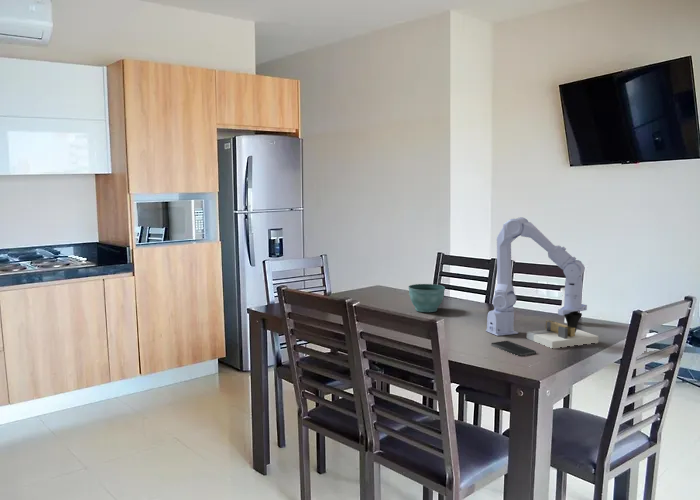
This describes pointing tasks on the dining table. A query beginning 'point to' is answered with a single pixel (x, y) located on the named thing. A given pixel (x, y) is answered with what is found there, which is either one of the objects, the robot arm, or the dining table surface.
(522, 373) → the dining table surface
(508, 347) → the phone
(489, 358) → the dining table surface
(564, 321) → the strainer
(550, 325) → the bar
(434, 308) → the flower pot
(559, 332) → the white panel
